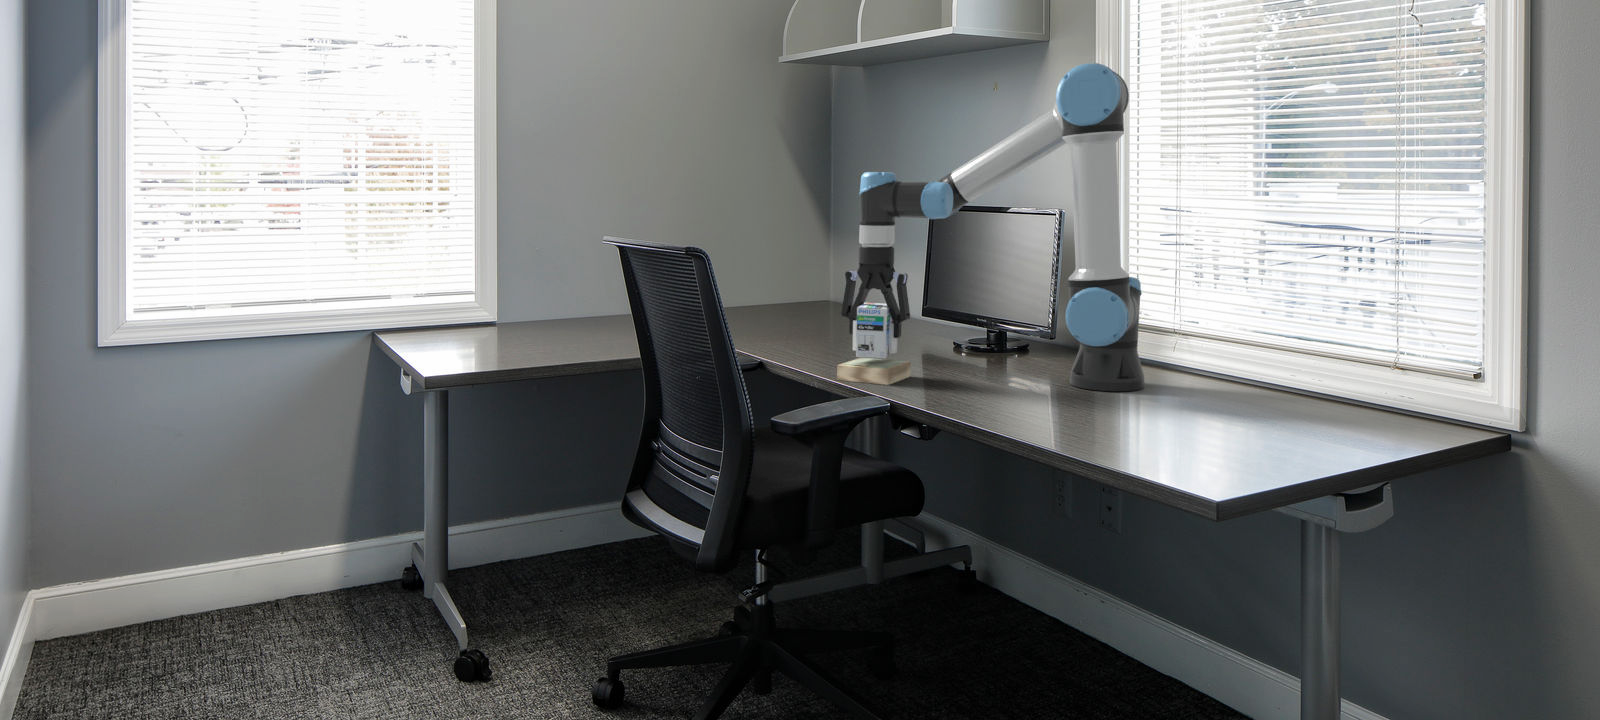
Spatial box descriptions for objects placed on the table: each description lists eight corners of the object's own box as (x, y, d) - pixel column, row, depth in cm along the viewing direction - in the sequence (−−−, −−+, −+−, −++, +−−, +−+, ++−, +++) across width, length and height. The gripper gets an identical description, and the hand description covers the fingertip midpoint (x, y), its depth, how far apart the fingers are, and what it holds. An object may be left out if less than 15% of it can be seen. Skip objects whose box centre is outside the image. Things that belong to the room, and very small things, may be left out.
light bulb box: (886, 359, 236) (887, 308, 234) (854, 357, 237) (856, 307, 236) (893, 351, 246) (894, 303, 244) (862, 350, 248) (864, 301, 246)
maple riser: (910, 376, 245) (910, 361, 244) (888, 384, 234) (888, 368, 234) (860, 371, 251) (861, 356, 250) (837, 379, 240) (837, 364, 240)
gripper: (928, 246, 236) (925, 352, 240) (840, 242, 246) (839, 345, 250) (915, 247, 230) (912, 357, 233) (825, 244, 240) (824, 349, 243)
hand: (874, 351), depth 242 cm, fingers closed on light bulb box, 8 cm apart
